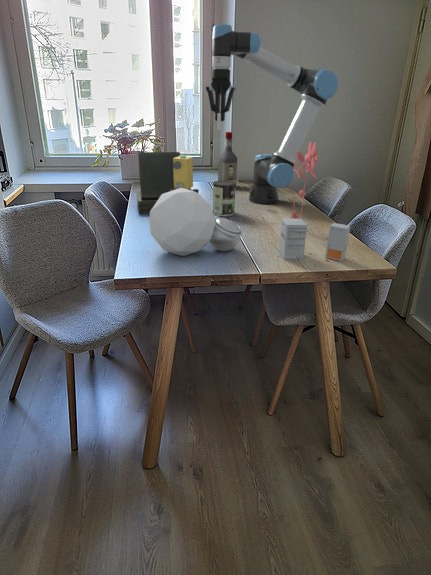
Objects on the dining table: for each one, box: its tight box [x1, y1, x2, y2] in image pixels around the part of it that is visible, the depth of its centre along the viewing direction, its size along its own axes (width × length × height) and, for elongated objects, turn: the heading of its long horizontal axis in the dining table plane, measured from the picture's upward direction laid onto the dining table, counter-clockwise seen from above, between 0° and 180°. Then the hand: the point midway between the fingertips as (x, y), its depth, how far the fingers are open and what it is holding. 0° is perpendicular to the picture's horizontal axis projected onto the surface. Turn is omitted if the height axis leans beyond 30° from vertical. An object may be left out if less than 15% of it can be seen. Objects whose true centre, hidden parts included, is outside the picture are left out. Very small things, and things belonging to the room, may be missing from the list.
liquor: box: [217, 131, 238, 188], centre depth 241 cm, size 9×9×30 cm
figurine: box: [289, 141, 323, 233], centre depth 175 cm, size 15×26×35 cm, turn 6°
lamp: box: [148, 188, 242, 257], centre depth 151 cm, size 22×34×24 cm, turn 100°
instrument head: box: [173, 154, 194, 189], centre depth 177 cm, size 6×9×13 cm, turn 159°
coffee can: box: [212, 180, 237, 217], centre depth 197 cm, size 10×10×14 cm
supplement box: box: [278, 218, 308, 260], centre depth 151 cm, size 7×7×13 cm
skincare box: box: [325, 222, 351, 262], centre depth 150 cm, size 6×4×12 cm
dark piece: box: [136, 151, 181, 215], centre depth 201 cm, size 23×20×25 cm
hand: (219, 129), depth 188 cm, fingers closed
